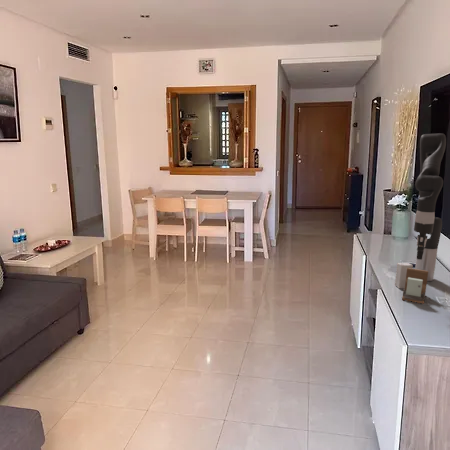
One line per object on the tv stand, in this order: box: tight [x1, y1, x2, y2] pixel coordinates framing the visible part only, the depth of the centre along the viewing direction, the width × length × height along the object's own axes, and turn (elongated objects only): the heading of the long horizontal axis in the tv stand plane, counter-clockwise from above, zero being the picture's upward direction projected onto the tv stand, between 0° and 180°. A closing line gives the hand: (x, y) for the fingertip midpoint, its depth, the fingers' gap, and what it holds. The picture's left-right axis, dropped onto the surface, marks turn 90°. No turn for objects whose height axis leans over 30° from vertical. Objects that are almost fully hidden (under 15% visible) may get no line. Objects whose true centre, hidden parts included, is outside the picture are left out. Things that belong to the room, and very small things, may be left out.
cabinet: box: [401, 268, 428, 305], centre depth 188 cm, size 12×9×12 cm
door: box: [406, 277, 423, 297], centre depth 185 cm, size 3×6×9 cm, turn 62°
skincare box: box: [394, 262, 414, 289], centre depth 201 cm, size 6×4×12 cm
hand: (419, 256), depth 182 cm, fingers open, 8 cm apart
